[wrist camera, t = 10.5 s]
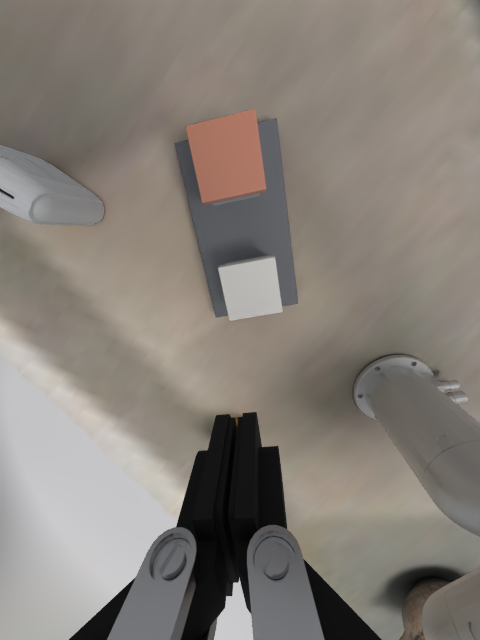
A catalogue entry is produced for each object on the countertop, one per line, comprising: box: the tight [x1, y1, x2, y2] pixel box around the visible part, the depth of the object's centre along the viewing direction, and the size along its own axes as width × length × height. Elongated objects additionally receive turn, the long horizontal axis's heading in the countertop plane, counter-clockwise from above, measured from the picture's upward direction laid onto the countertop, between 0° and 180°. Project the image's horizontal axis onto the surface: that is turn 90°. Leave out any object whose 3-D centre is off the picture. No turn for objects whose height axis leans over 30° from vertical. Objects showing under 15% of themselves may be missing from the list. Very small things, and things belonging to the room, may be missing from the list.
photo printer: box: [0, 145, 104, 226], centre depth 27 cm, size 10×4×12 cm, turn 55°
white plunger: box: [218, 255, 283, 321], centre depth 31 cm, size 6×6×6 cm
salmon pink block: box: [185, 109, 266, 205], centre depth 26 cm, size 6×6×6 cm
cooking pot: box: [399, 577, 451, 640], centre depth 55 cm, size 25×19×12 cm
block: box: [175, 118, 298, 317], centre depth 31 cm, size 12×22×6 cm, turn 11°
